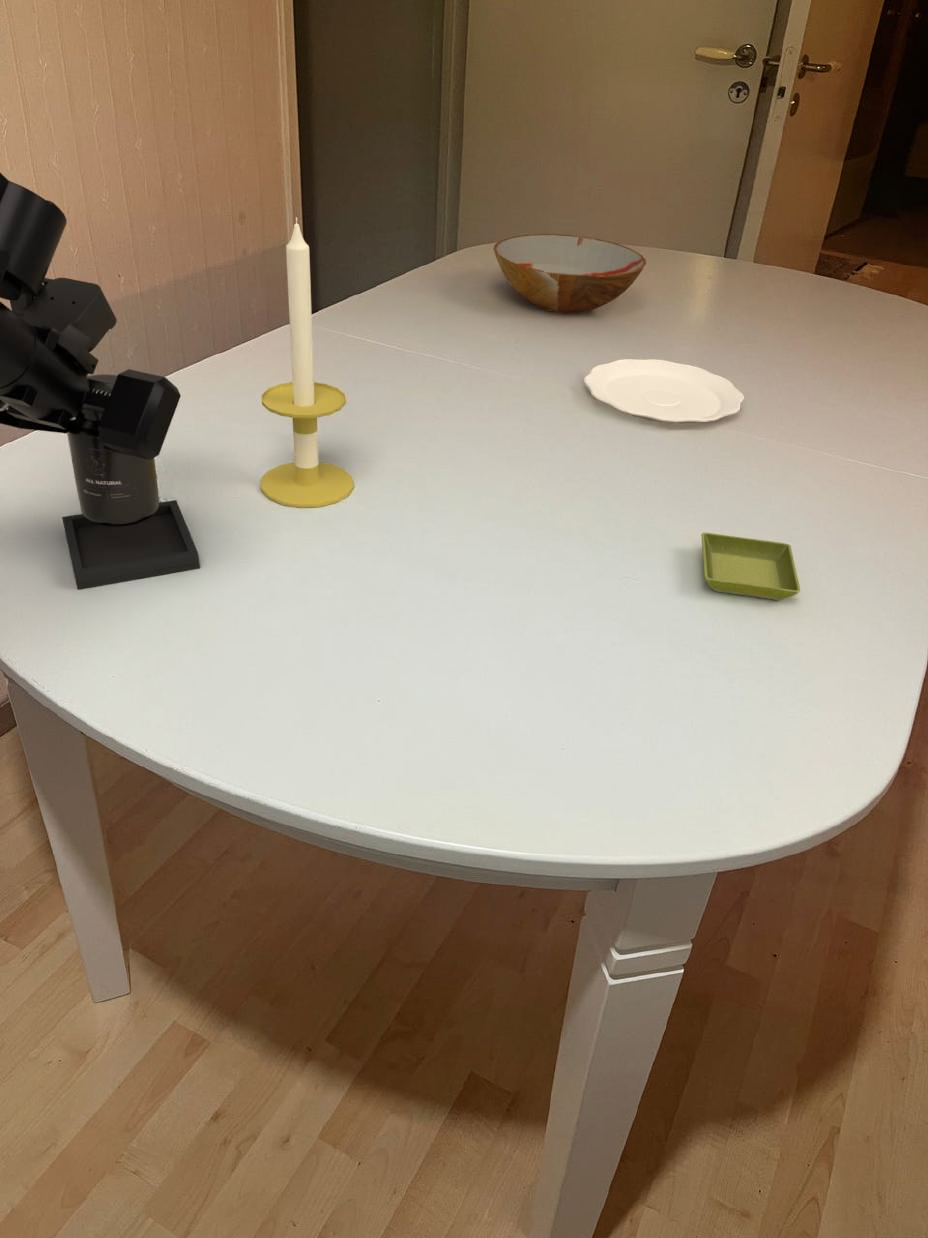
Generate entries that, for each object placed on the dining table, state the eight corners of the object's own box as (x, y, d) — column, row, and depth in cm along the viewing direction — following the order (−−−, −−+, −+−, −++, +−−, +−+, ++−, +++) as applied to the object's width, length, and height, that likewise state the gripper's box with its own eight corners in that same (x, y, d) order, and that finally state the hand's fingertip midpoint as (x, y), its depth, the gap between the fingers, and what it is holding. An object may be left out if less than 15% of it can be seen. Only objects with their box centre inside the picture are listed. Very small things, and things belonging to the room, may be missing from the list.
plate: (551, 388, 125) (553, 376, 124) (655, 360, 136) (657, 349, 135) (668, 446, 112) (671, 433, 111) (771, 410, 124) (775, 398, 123)
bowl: (475, 314, 148) (479, 263, 143) (504, 273, 168) (508, 226, 163) (632, 336, 144) (641, 284, 140) (642, 291, 164) (651, 244, 160)
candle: (316, 455, 105) (308, 199, 89) (373, 488, 99) (375, 222, 83) (241, 480, 99) (217, 211, 83) (297, 517, 93) (283, 237, 77)
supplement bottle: (95, 536, 80) (70, 405, 73) (72, 503, 84) (46, 376, 78) (172, 517, 83) (156, 390, 77) (146, 486, 88) (128, 364, 81)
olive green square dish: (795, 610, 85) (801, 592, 84) (699, 597, 86) (704, 578, 85) (784, 561, 92) (790, 543, 91) (696, 549, 93) (701, 531, 92)
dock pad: (77, 589, 81) (74, 574, 80) (65, 530, 88) (61, 516, 88) (200, 568, 85) (198, 553, 84) (178, 513, 92) (176, 499, 91)
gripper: (149, 272, 65) (244, 374, 80) (-61, 233, 70) (66, 336, 85) (93, 417, 63) (201, 493, 78) (-118, 367, 68) (22, 448, 83)
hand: (121, 437), depth 81 cm, fingers closed on supplement bottle, 7 cm apart
